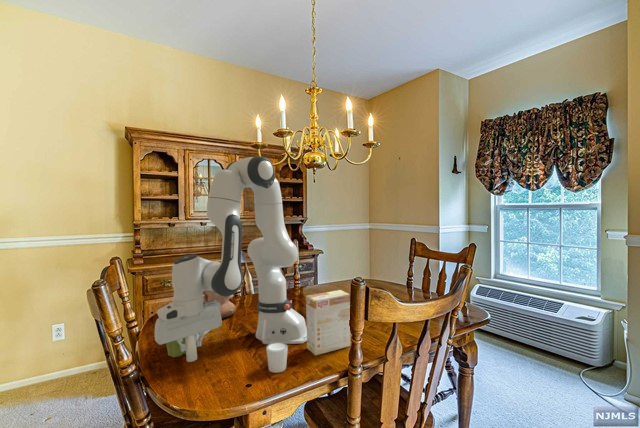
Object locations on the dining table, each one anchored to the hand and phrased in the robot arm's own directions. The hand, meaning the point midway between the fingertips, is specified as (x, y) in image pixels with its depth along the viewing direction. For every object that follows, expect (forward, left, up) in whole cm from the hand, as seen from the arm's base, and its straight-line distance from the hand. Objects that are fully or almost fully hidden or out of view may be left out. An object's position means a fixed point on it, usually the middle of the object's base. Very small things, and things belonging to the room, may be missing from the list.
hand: (191, 348), depth 101 cm
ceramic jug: (+16, -46, -7) cm, 49 cm away
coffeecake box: (-41, -21, -7) cm, 47 cm away
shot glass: (-27, -4, -7) cm, 29 cm away
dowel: (0, 0, -4) cm, 4 cm away
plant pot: (+11, -8, -7) cm, 15 cm away
